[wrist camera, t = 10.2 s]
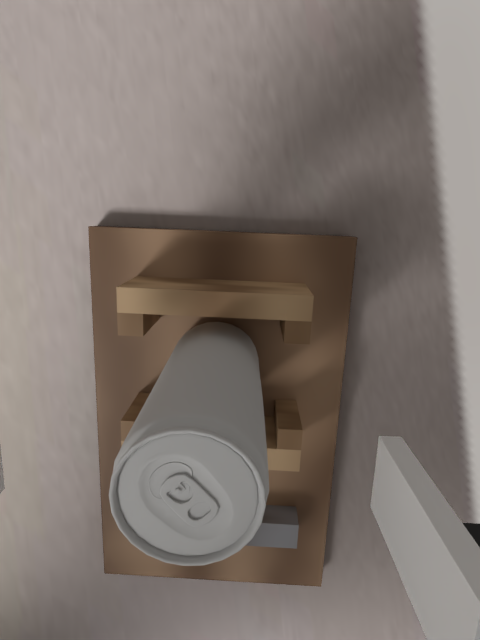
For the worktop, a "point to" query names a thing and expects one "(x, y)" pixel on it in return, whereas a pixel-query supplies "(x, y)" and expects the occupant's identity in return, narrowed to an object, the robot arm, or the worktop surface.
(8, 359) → the worktop surface
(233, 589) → the worktop surface
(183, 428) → the beverage can
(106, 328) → the board
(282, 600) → the worktop surface
